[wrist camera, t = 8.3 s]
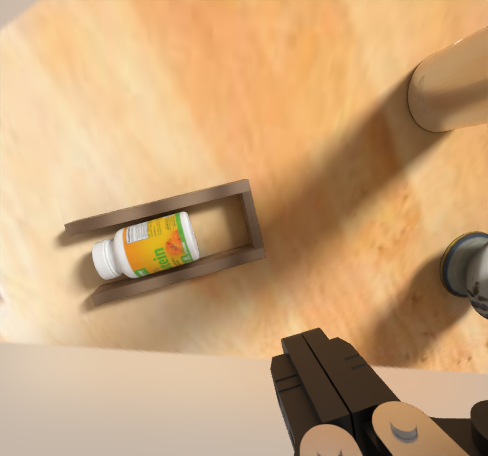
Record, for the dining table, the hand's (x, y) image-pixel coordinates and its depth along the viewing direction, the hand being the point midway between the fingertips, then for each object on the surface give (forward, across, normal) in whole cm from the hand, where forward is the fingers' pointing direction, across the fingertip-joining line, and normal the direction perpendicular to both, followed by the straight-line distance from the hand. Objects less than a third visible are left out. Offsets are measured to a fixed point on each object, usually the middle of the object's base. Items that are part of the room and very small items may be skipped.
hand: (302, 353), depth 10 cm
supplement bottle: (+20, +4, -1) cm, 21 cm away
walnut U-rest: (+23, +7, -1) cm, 24 cm away
